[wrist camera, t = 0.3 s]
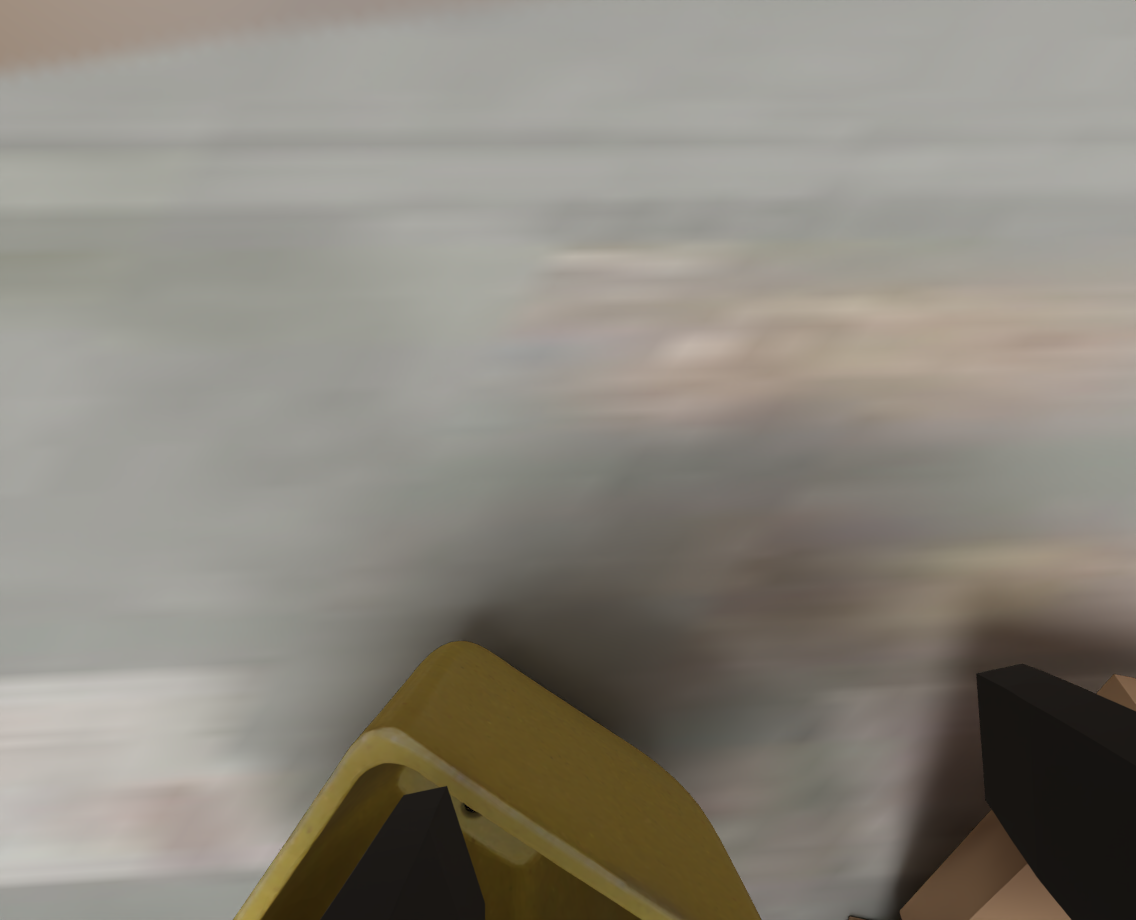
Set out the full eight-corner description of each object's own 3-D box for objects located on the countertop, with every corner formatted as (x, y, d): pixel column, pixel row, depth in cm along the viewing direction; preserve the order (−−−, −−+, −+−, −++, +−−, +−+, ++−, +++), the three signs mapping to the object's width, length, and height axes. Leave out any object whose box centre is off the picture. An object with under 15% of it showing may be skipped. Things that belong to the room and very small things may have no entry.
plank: (1078, 968, 20) (1107, 1033, 19) (882, 929, 20) (898, 992, 19) (1395, 729, 14) (1473, 801, 13) (1114, 673, 14) (1161, 740, 13)
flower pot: (716, 728, 20) (822, 1016, 11) (547, 945, 21) (520, 1367, 12) (468, 560, 20) (370, 718, 11) (308, 790, 21) (96, 1111, 12)
